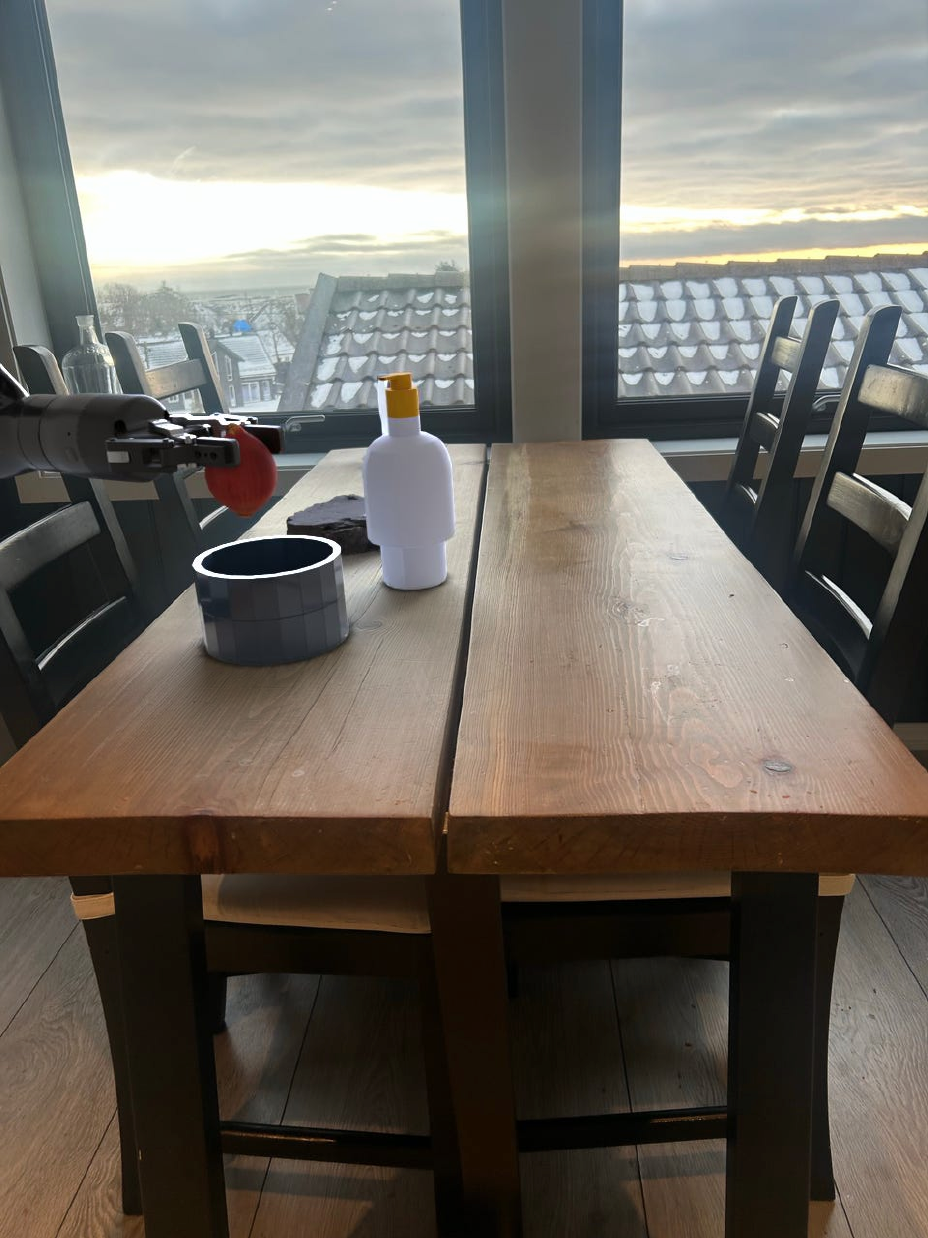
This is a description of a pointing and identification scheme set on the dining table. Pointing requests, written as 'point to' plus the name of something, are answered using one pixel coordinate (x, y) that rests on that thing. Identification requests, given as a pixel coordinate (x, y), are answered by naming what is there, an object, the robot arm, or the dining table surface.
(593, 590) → the dining table surface
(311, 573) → the pot
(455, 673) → the dining table surface
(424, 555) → the soap bottle
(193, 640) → the dining table surface
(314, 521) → the rock sample
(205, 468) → the onion
